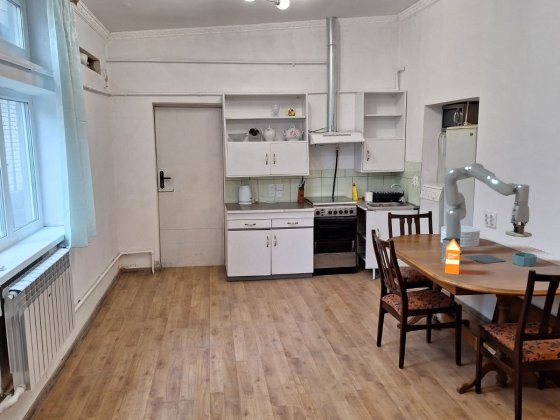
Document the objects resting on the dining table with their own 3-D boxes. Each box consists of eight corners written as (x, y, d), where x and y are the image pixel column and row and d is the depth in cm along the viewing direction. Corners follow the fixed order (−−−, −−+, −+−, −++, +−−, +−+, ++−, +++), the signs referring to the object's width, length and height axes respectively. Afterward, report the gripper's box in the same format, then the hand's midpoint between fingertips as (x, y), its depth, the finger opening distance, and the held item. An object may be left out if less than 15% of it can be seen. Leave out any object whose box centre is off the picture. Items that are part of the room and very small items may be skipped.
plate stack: (432, 240, 360) (433, 226, 359) (459, 237, 371) (460, 224, 369) (459, 248, 335) (460, 233, 333) (487, 244, 346) (488, 230, 344)
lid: (518, 237, 282) (518, 228, 281) (500, 232, 297) (501, 223, 296) (537, 236, 287) (538, 227, 286) (518, 231, 301) (519, 222, 300)
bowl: (523, 267, 284) (524, 258, 283) (508, 262, 297) (508, 253, 296) (540, 265, 288) (541, 256, 287) (524, 260, 300) (525, 251, 299)
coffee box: (451, 260, 302) (452, 236, 299) (459, 262, 296) (460, 238, 294) (441, 262, 297) (442, 238, 295) (449, 264, 292) (450, 240, 289)
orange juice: (445, 272, 274) (446, 240, 271) (445, 269, 282) (446, 237, 279) (458, 274, 271) (460, 241, 268) (458, 270, 279) (460, 238, 276)
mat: (482, 263, 293) (482, 263, 293) (464, 256, 310) (464, 256, 310) (505, 261, 298) (505, 260, 298) (486, 254, 315) (486, 254, 315)
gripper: (515, 205, 282) (512, 234, 285) (536, 204, 287) (533, 232, 290) (506, 203, 290) (503, 231, 293) (527, 202, 294) (524, 230, 297)
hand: (518, 231), depth 291 cm, fingers closed on lid, 4 cm apart
